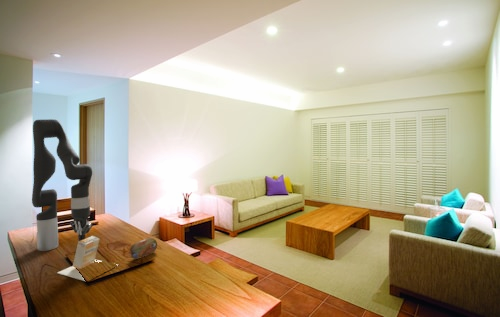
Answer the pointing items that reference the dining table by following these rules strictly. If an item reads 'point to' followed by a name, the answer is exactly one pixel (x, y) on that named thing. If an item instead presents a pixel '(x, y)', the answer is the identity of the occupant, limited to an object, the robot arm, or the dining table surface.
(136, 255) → the tin
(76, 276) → the felt mat
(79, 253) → the supplement box
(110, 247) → the dining table surface
